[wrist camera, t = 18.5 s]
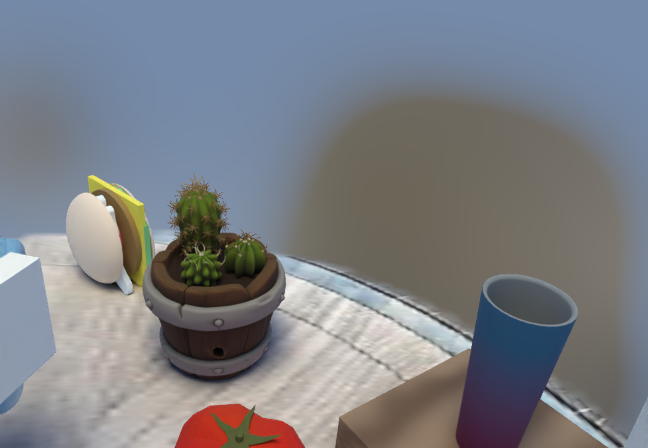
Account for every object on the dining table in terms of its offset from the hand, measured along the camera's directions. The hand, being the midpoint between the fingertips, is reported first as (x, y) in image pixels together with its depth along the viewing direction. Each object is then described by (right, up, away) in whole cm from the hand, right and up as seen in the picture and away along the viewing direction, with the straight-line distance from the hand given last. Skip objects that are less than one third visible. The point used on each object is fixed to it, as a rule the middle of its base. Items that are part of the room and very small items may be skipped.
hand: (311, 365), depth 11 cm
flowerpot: (-12, -11, +48) cm, 51 cm away
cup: (+14, -16, +34) cm, 40 cm away
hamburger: (-28, -4, +60) cm, 66 cm away
